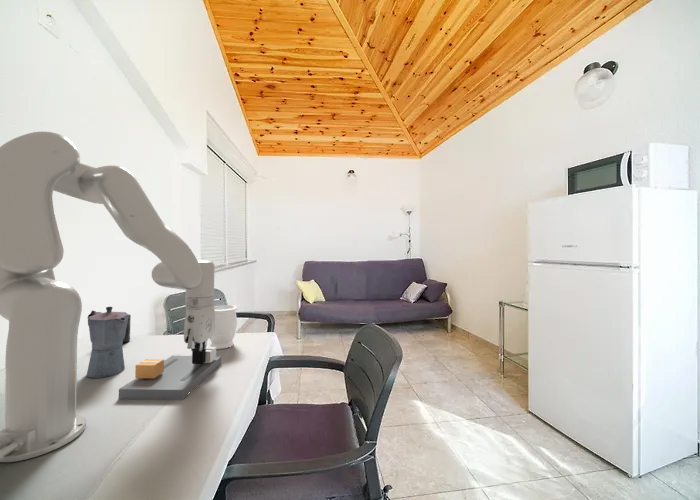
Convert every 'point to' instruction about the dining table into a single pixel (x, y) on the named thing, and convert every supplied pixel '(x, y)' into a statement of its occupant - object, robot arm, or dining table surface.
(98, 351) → the moka pot
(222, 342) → the jar
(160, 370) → the orange fader
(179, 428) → the dining table surface
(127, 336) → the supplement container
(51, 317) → the robot arm
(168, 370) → the console
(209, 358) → the block
